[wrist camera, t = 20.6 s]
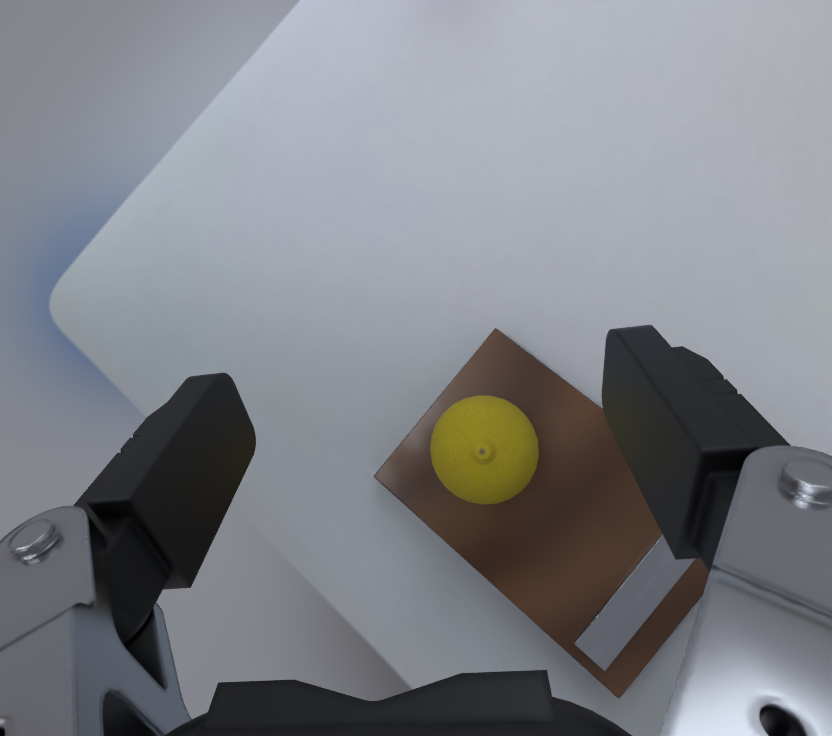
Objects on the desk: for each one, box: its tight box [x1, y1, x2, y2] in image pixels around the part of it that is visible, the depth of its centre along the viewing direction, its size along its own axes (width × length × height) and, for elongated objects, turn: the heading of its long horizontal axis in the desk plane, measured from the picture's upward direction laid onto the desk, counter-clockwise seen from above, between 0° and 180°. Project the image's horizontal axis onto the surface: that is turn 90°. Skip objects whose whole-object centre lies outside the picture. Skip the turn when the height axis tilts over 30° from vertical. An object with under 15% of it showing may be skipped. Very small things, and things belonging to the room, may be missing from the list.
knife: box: [574, 533, 696, 671], centre depth 25 cm, size 12×2×1 cm, turn 140°
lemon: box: [430, 395, 539, 505], centre depth 24 cm, size 6×6×8 cm
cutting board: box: [374, 328, 709, 698], centre depth 28 cm, size 18×12×2 cm, turn 50°
